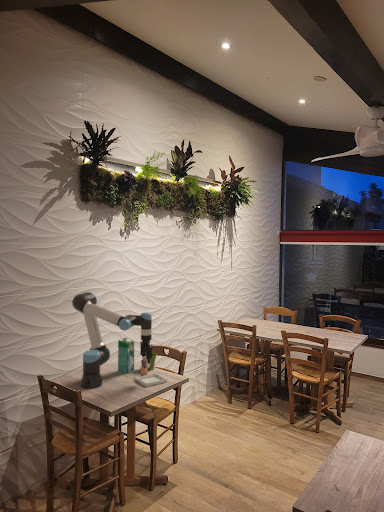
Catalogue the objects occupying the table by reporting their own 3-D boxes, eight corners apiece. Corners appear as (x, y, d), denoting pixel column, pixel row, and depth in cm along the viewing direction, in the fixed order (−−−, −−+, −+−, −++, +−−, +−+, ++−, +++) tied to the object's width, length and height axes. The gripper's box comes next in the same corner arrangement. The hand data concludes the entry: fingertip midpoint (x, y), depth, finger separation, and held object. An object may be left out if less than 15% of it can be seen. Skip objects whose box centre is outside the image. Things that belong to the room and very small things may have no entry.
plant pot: (159, 367, 328) (159, 353, 328) (151, 371, 317) (152, 357, 317) (146, 365, 333) (146, 351, 333) (139, 369, 322) (139, 355, 322)
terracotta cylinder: (142, 378, 303) (142, 368, 302) (139, 376, 307) (139, 367, 306) (148, 376, 306) (148, 367, 306) (145, 375, 310) (145, 365, 309)
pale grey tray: (146, 387, 284) (146, 383, 284) (135, 380, 297) (135, 377, 297) (166, 382, 295) (166, 378, 295) (155, 376, 307) (155, 373, 307)
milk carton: (127, 373, 313) (127, 341, 312) (117, 371, 316) (118, 339, 315) (134, 370, 321) (134, 338, 320) (124, 368, 325) (124, 337, 324)
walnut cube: (151, 367, 292) (151, 360, 292) (144, 368, 289) (144, 361, 289) (147, 365, 296) (147, 358, 296) (141, 366, 293) (141, 359, 293)
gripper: (157, 336, 287) (157, 368, 288) (144, 331, 301) (144, 362, 302) (148, 337, 282) (147, 370, 283) (135, 332, 297) (135, 364, 298)
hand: (146, 366), depth 293 cm, fingers closed on walnut cube, 5 cm apart
